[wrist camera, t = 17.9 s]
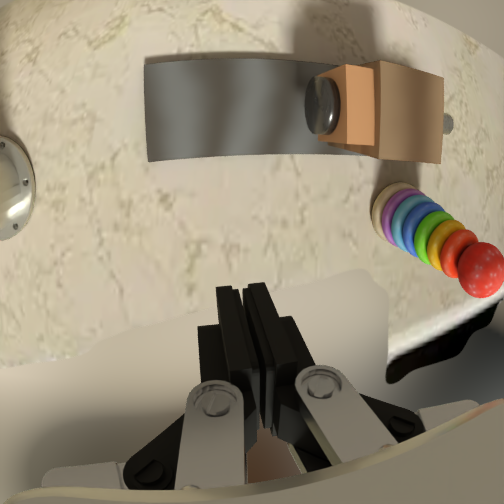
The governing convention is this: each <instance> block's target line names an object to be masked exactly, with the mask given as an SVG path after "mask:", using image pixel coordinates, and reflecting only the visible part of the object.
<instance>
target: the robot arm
mask: <svg viewBox="0 0 504 504" xmlns="http://www.w3.org/2000/svg"><path fill="white" fill-rule="evenodd" d="M34 201H35V181H34V175H33V171H32V167H31V164H30V162H29V160H28V157H27V156H26V154H25V153H24V151H23V150H22V148H21V147H20V146H19V145H18V144H17V143H16V142H14V141H13V140H11V139H9V138H7V137H4V136H0V241H4V240H7V239H10V238H12V237H13V236H15V235H16V234H18V233H19V232H20V231H21V230H22V229H23V228H24V226H25V225H26V224H27V222H28V220H29V218H30V216H31V213H32V210H33V207H34ZM216 297H217V309H218V320H219V324H216V325H206V326H198V343H199V344H198V345H199V360H200V374H201V383H200V384H199V385H197V386H196V387H194V388H193V389H192V391H191V392H190V393H189V396H188V398H187V403H186V409H185V413H184V414H183V415H182V416H181V417H180V418H179V419H177V420H176V421H175V422H174V423H173V424H171V425H170V426H169V427H168V428H167V429H166V430H164V431H163V432H162V433H161V434H160V435H158V436H157V437H156V438H155V439H153V440H152V441H151V442H150V443H148V444H147V445H146V446H145V447H143V448H142V449H141V450H140V451H138V452H137V453H136V454H135V455H133V456H132V457H131V458H130V459H129V460H128V461H127V462H126V463H121V464H117V463H116V462H115V461H114V462H107V463H99V464H92V465H82V466H71V467H59V468H54V469H51V470H50V471H48V472H47V473H46V474H45V475H44V477H43V479H42V484H41V488H35V489H31V490H26V491H24V492H21V493H18V494H15V495H13V496H11V497H10V498H9V499H7V500H6V502H5V503H4V504H504V398H503V399H498V400H495V401H491V402H488V403H486V404H483V405H481V406H480V405H479V404H478V403H476V402H475V401H472V400H462V401H458V402H453V403H448V404H444V405H439V406H434V407H429V408H423V409H419V410H418V411H417V413H414V412H412V411H410V410H407V409H405V408H402V407H398V406H395V405H392V404H389V403H386V402H383V401H380V400H377V399H374V398H371V397H368V396H365V395H363V394H360V393H358V392H357V391H356V389H355V388H354V387H353V386H352V384H351V383H350V382H349V381H348V380H347V378H346V377H345V376H344V375H343V374H342V373H341V372H340V371H339V370H337V369H335V368H333V367H330V366H326V365H315V363H314V361H313V358H312V356H311V354H310V352H309V350H308V348H307V346H306V344H305V342H304V340H303V338H302V336H301V333H300V332H299V329H298V327H297V325H296V323H295V321H294V319H293V318H292V316H286V317H279V315H278V313H277V311H276V308H275V306H274V303H273V301H272V299H271V297H270V294H269V292H268V289H267V287H266V285H265V283H264V282H262V283H252V284H248V288H243V305H242V301H241V298H240V294H239V290H238V289H232V286H221V287H216ZM259 413H260V415H261V419H262V423H263V427H264V428H270V430H271V434H272V436H277V437H278V438H279V439H282V440H283V441H286V442H287V445H288V448H289V450H290V452H291V454H292V456H293V458H294V460H295V462H296V464H297V465H298V467H299V469H300V471H301V473H302V474H300V475H296V476H291V477H286V478H281V479H276V480H270V481H265V482H259V483H252V484H247V454H246V453H247V452H248V451H249V449H250V448H251V447H252V446H253V445H254V444H255V443H256V442H257V430H258V429H259Z"/></svg>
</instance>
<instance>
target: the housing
mask: <svg viewBox="0 0 504 504" xmlns="http://www.w3.org/2000/svg"><path fill="white" fill-rule="evenodd" d="M357 66H360V67H366V68H371V69H373V72H374V101H375V142H374V146H372V145H358V144H344V143H334V142H324V141H318V134H312V133H311V132H310V130H309V128H308V126H307V123H306V118H305V107H304V104H305V93H306V89H307V85H308V83H309V81H310V79H311V78H312V77H314V76H317V75H320V74H322V73H325V72H327V71H329V70H332V69H334V68H337V67H339V66H338V65H330V64H322V63H313V62H303V61H291V60H275V59H201V60H185V61H173V62H163V63H154V64H146V65H144V98H145V123H146V141H147V155H148V162H155V161H164V160H175V159H187V158H200V157H215V156H234V155H261V154H333V155H360V156H370V157H374V158H377V159H387V160H401V161H413V162H424V163H434V164H441V153H442V139H443V118H444V78H443V77H440V76H436V75H433V74H430V73H427V72H424V71H420V70H417V69H413V68H410V67H406V66H402V65H398V64H394V63H390V62H386V61H382V60H379V61H374V62H370V63H365V64H361V65H357Z"/></svg>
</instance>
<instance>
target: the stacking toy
mask: <svg viewBox="0 0 504 504" xmlns="http://www.w3.org/2000/svg"><path fill="white" fill-rule="evenodd" d="M372 224H373V227H374V229H375V231H376V233H377V234H378V236H379V237H381V238H382V239H383V240H385V241H387V242H390V243H391V244H392V245H394V246H396V247H399V248H400V249H402V250H403V251H406V252H409V253H410V254H411V255H413V256H415V257H418V258H419V259H420V260H421V261H422V262H424V263H426V264H430V265H432V266H433V267H434V268H435V269H437V270H440V271H443V272H444V273H445V274H446V275H447V276H449V277H451V278H458V279H459V282H460V284H461V286H462V288H463V289H464V290H465V291H466V292H467V293H468V294H469V295H471V296H473V297H476V298H486V297H489V296H491V295H493V294H494V293H495V292H497V291H498V289H499V288H500V287H501V285H502V283H503V281H504V257H503V255H502V254H501V252H500V251H499V250H498V249H497V248H496V247H495V246H493V245H492V244H489V243H485V242H478V239H477V237H476V235H475V234H474V233H473V232H472V231H470V230H466V229H465V227H464V225H463V224H462V223H460V222H459V221H456V220H454V218H453V217H452V216H451V215H450V214H448V213H447V212H445V211H444V209H443V208H442V207H441V206H440V205H438V204H437V203H434V201H433V200H432V199H430V198H429V197H427V196H426V195H425V194H424V193H422V192H421V191H419V190H417V189H416V188H415V187H413V186H412V185H410V184H407V183H403V182H399V183H394V184H391V185H389V186H388V187H386V188H385V189H384V190H383V191H382V192H381V193H380V194H379V195H378V197H377V199H376V200H375V203H374V205H373V209H372Z"/></svg>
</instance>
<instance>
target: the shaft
mask: <svg viewBox="0 0 504 504" xmlns="http://www.w3.org/2000/svg"><path fill="white" fill-rule="evenodd" d="M304 107H305V118H306V123H307V126H308V128H309V130H310V132H311V133H312V134H318V135H330V134H332V133H333V132H334V130H335V129H336V127H337V125H338V121H339V117H340V110H341V100H340V93H339V89H338V86H337V84H336V82H335V81H334V80H333V79H332V78H329V77H320V76H314V77H312V78H311V79H310V81H309V83H308V85H307V89H306V93H305V104H304ZM452 129H453V119H452V117H451V116H450V115H449V114H447V113H444V118H443V134H446V135H447V134H450V133H451V131H452Z"/></svg>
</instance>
